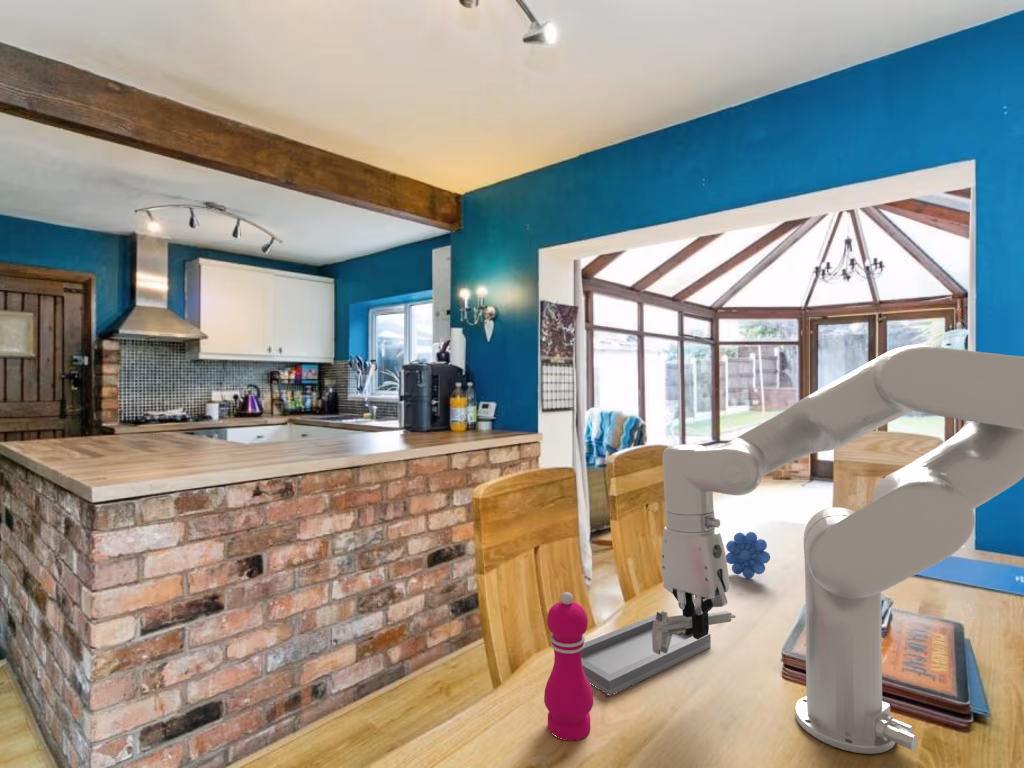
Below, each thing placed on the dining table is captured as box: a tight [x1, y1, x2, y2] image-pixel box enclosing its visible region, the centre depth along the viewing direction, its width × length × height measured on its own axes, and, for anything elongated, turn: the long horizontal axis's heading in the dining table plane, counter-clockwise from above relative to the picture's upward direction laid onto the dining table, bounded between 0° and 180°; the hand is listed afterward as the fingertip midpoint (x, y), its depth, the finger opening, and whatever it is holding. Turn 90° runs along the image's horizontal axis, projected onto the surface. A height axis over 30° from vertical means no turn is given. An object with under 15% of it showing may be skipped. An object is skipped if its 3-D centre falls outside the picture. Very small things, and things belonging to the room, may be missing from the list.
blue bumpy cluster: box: [725, 531, 771, 579], centre depth 141 cm, size 12×7×12 cm, turn 39°
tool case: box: [581, 614, 712, 697], centre depth 102 cm, size 12×27×2 cm, turn 126°
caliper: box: [652, 610, 737, 655], centre depth 90 cm, size 20×1×6 cm, turn 126°
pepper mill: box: [543, 591, 594, 741], centre depth 82 cm, size 7×7×20 cm
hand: (696, 634), depth 90 cm, fingers closed on caliper, 1 cm apart
